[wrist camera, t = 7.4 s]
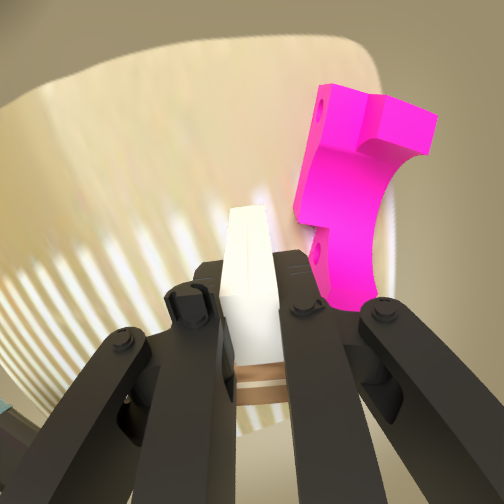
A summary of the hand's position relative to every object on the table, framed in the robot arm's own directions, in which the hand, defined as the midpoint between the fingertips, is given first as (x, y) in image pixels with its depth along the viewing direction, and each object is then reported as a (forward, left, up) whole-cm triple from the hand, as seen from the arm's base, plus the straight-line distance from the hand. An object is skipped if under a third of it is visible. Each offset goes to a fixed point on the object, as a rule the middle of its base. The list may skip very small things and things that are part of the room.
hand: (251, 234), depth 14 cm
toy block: (+7, -2, -12) cm, 14 cm away
